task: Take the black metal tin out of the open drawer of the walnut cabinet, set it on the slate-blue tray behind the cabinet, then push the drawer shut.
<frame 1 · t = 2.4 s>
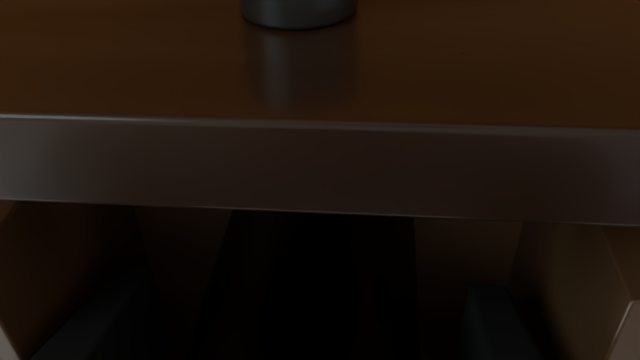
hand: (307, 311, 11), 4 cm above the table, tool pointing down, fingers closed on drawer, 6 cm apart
drawer: (313, 290, 11), point 4 cm above the table, slide at 7.5 cm, touching gripper, spice tin
spice tin: (322, 230, 13), point 2 cm above the table, touching drawer
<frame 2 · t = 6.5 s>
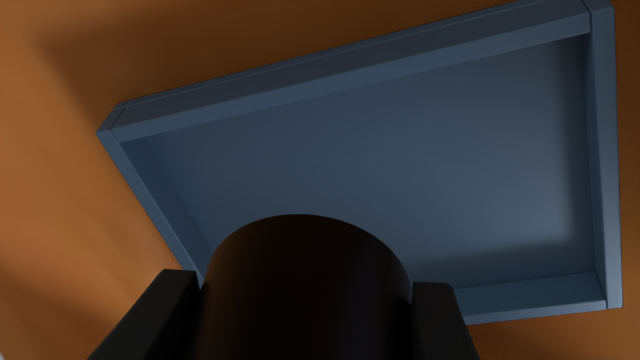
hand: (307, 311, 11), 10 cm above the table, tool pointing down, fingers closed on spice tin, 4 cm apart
spice tin: (308, 289, 12), point 10 cm above the table, touching gripper
tray: (376, 190, 22), on the table
when the fingers open (1 cm above the table, at t = 9.7 s): spice tin stays where it is, resting on tray.
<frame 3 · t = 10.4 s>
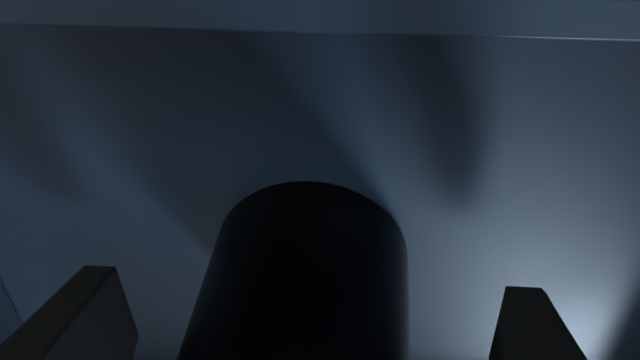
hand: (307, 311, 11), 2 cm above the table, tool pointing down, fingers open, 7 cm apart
spice tin: (312, 254, 12), resting on tray
tray: (316, 235, 13), on the table
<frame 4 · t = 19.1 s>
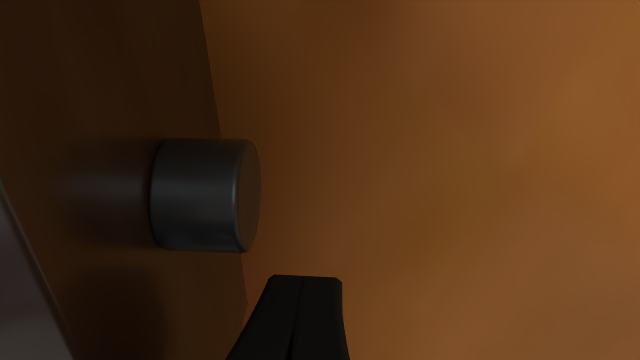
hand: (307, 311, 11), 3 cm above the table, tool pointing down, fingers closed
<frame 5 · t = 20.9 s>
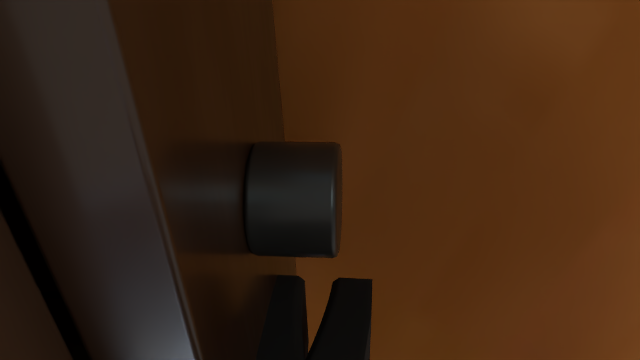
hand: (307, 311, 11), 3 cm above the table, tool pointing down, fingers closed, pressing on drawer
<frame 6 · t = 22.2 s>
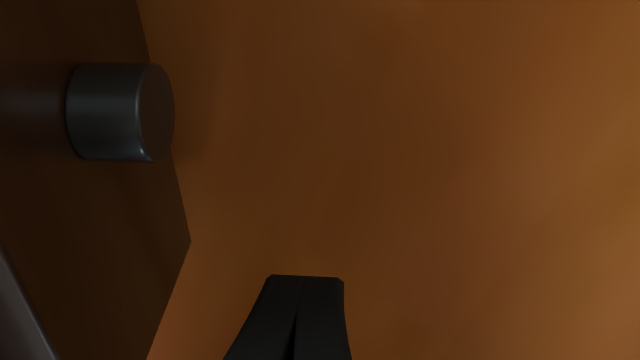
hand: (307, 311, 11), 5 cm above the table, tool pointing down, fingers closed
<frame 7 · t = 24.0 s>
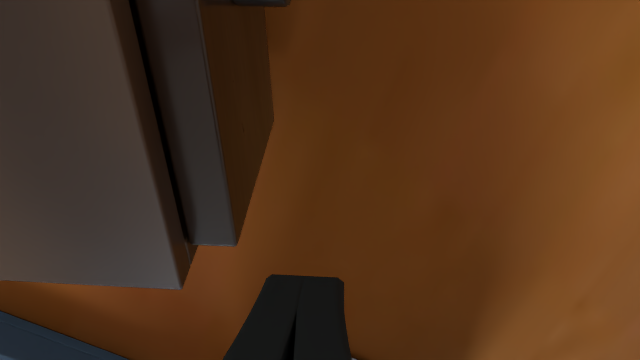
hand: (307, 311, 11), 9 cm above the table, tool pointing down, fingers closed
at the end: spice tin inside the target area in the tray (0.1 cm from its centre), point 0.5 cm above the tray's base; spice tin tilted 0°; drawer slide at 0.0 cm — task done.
